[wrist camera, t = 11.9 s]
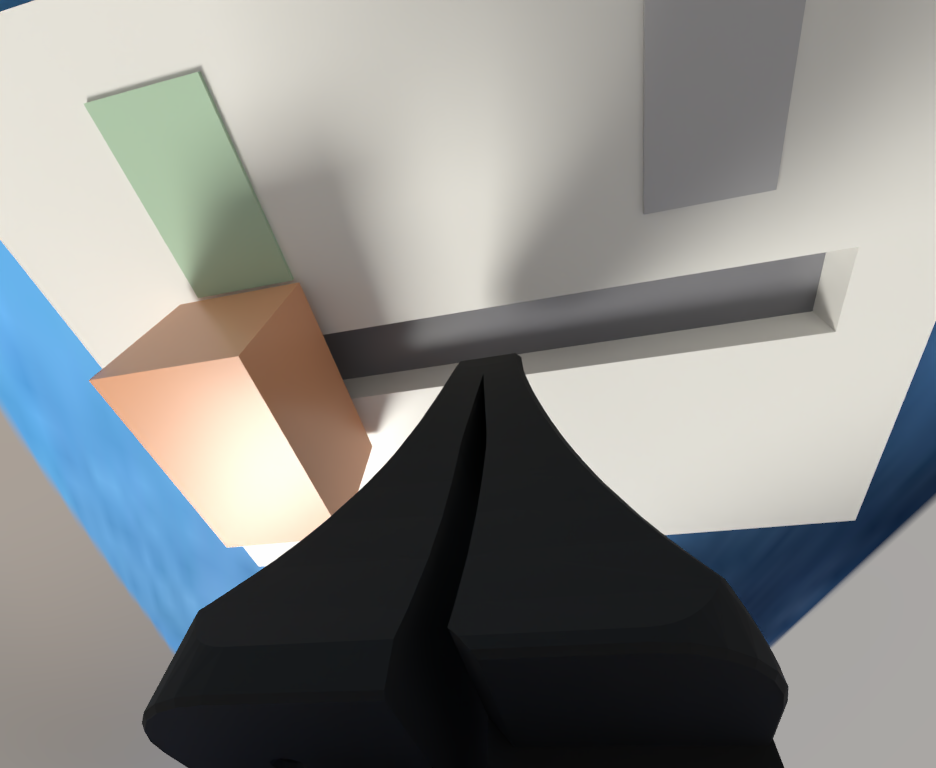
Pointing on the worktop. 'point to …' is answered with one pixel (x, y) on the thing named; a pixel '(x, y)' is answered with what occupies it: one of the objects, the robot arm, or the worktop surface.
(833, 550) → the worktop surface
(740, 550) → the worktop surface
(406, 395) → the white flat board
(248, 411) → the switch
